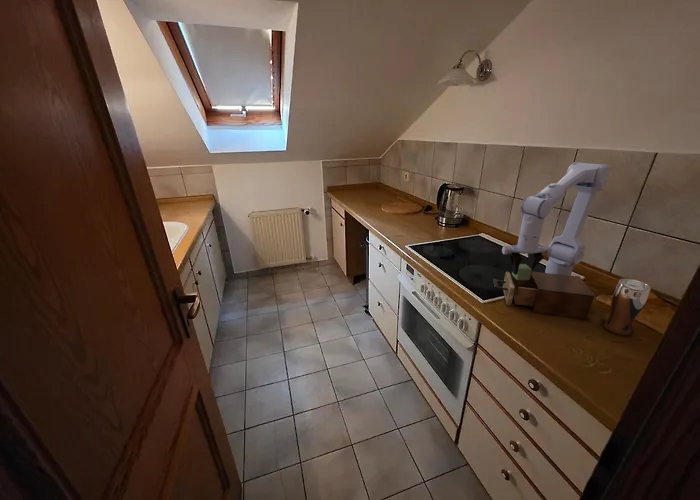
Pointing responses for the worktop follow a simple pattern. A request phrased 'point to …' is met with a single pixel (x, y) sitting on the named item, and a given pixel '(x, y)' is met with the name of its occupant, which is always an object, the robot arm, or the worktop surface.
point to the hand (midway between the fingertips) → (521, 273)
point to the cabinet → (562, 295)
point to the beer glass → (626, 305)
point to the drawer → (518, 290)
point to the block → (523, 272)
